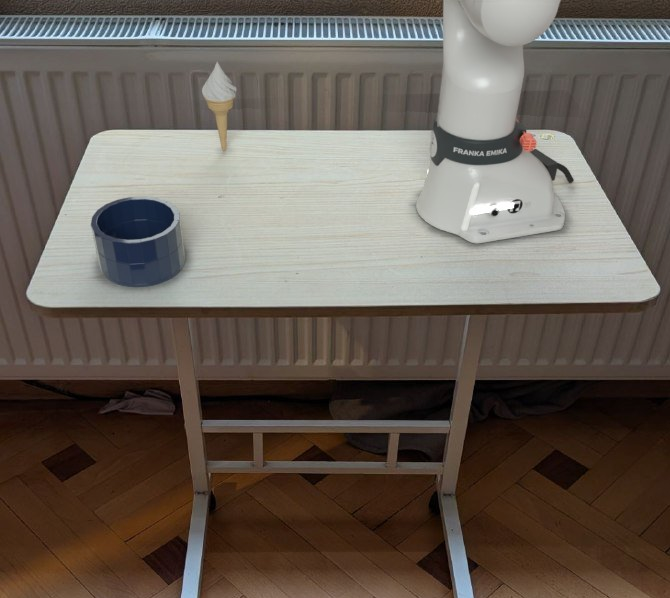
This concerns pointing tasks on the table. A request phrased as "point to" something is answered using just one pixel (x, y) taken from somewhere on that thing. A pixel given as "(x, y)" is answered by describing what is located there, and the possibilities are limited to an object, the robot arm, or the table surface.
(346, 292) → the table surface
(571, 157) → the table surface
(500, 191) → the robot arm
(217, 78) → the ice cream cone
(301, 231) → the table surface
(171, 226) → the pot
